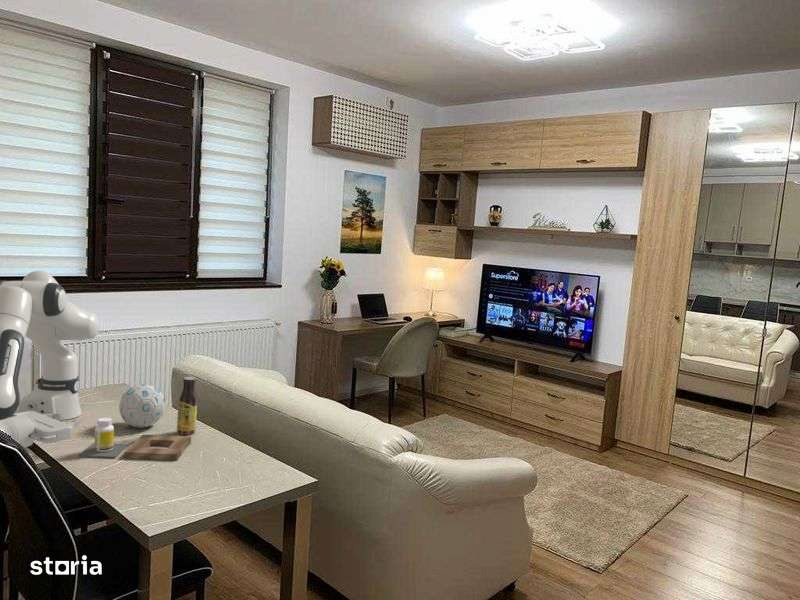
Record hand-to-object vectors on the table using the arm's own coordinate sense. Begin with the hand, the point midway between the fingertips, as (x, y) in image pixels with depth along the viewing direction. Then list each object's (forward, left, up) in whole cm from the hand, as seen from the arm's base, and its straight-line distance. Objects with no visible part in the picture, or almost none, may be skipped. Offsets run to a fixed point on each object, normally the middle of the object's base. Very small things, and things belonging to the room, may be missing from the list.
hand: (68, 419), depth 181 cm
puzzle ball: (+10, +35, -13) cm, 38 cm away
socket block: (+23, +13, -13) cm, 29 cm away
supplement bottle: (+7, +10, -13) cm, 17 cm away
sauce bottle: (+27, +30, -13) cm, 42 cm away
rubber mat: (+7, +10, -13) cm, 18 cm away
